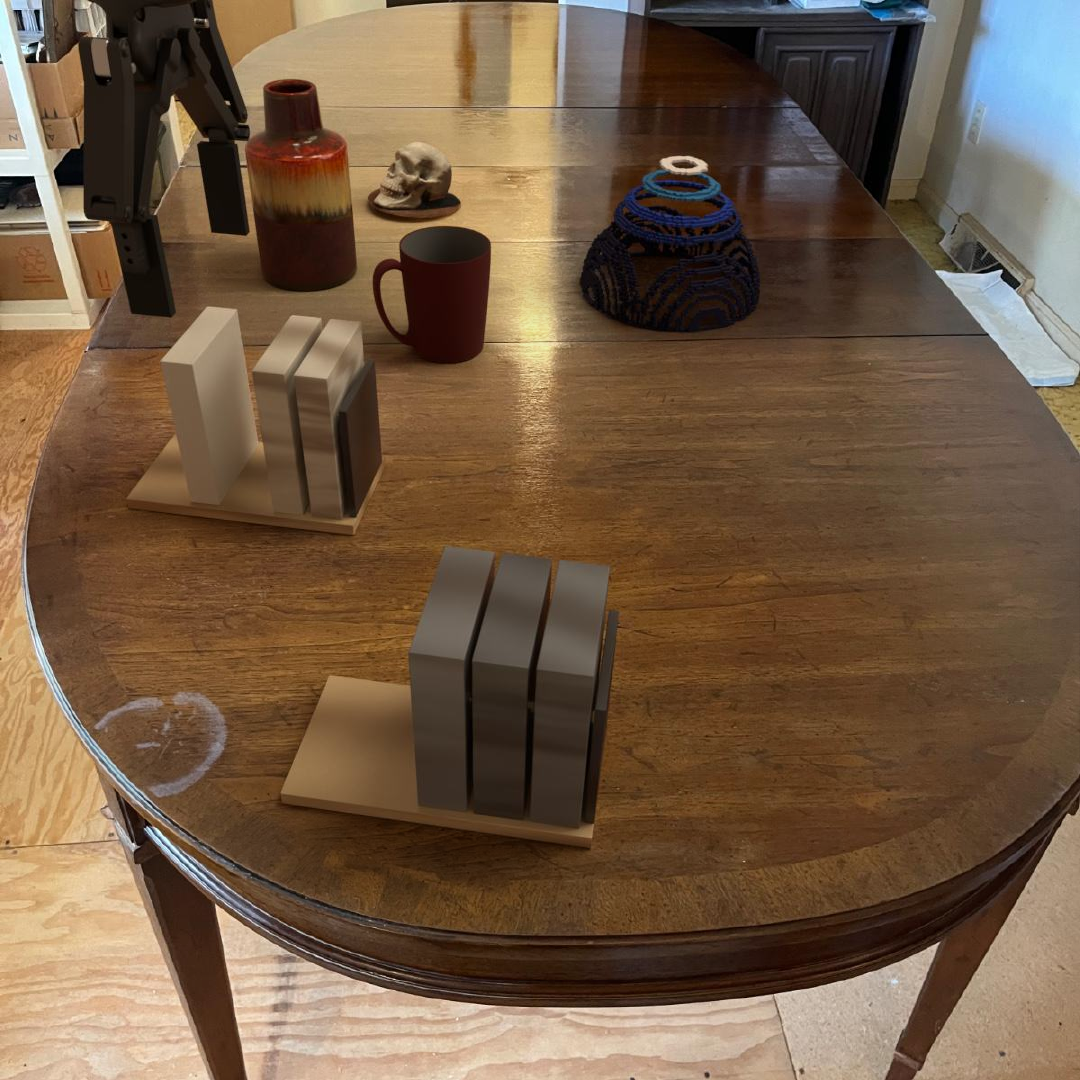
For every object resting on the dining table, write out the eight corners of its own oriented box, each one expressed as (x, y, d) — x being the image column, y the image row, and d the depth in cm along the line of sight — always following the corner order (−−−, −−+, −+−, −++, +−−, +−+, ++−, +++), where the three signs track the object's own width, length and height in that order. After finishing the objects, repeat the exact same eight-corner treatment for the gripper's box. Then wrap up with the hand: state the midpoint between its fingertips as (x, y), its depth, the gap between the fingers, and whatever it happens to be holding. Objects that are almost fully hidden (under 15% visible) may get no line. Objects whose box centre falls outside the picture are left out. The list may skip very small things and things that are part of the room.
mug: (397, 382, 104) (390, 277, 97) (362, 342, 110) (354, 240, 103) (505, 355, 109) (507, 253, 102) (467, 318, 114) (466, 219, 107)
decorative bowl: (555, 263, 126) (560, 140, 117) (706, 244, 132) (722, 126, 123) (622, 342, 112) (634, 208, 102) (788, 317, 117) (813, 188, 108)
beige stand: (353, 535, 85) (338, 383, 76) (128, 508, 87) (87, 357, 78) (386, 465, 93) (375, 319, 84) (178, 441, 95) (146, 296, 86)
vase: (296, 244, 128) (275, 65, 115) (374, 262, 125) (362, 80, 112) (242, 279, 120) (213, 91, 107) (324, 299, 117) (304, 108, 104)
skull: (394, 223, 131) (366, 144, 130) (374, 253, 140) (347, 179, 140) (480, 203, 135) (453, 127, 135) (455, 233, 145) (429, 162, 145)
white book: (220, 505, 86) (192, 364, 78) (190, 502, 86) (159, 360, 78) (258, 444, 93) (237, 308, 85) (231, 441, 93) (207, 305, 85)
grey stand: (591, 848, 63) (608, 685, 54) (281, 803, 65) (249, 638, 56) (607, 721, 71) (624, 561, 62) (330, 684, 73) (309, 523, 64)
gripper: (93, -34, 51) (173, 360, 64) (269, -105, 70) (303, 208, 83) (-54, -44, 52) (55, 348, 65) (160, -112, 71) (211, 200, 84)
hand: (195, 270), depth 74 cm, fingers open, 13 cm apart
